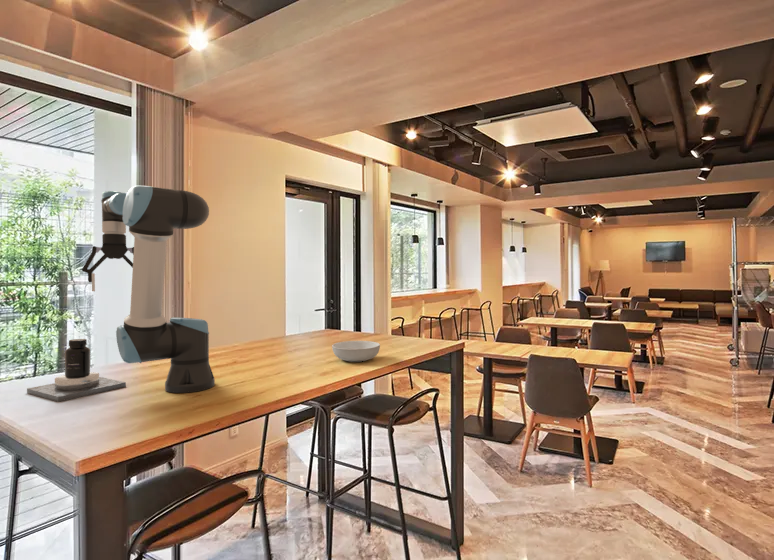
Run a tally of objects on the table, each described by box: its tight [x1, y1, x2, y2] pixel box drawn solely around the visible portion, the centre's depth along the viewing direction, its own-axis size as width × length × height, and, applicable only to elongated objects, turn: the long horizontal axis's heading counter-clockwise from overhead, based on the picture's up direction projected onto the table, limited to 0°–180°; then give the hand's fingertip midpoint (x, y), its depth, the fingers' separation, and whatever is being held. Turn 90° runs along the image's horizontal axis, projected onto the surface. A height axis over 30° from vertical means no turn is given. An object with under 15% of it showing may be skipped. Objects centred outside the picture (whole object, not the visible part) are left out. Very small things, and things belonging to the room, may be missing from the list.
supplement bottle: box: [64, 338, 91, 378], centre depth 146 cm, size 7×7×12 cm
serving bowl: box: [331, 340, 381, 363], centre depth 193 cm, size 21×21×7 cm
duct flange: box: [26, 371, 127, 403], centre depth 146 cm, size 20×20×4 cm
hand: (115, 290), depth 166 cm, fingers open, 13 cm apart
